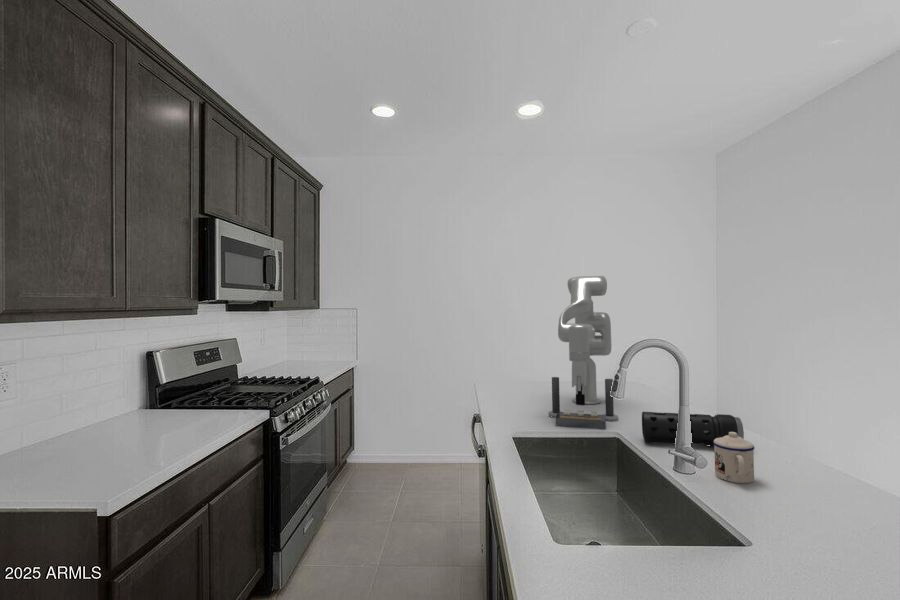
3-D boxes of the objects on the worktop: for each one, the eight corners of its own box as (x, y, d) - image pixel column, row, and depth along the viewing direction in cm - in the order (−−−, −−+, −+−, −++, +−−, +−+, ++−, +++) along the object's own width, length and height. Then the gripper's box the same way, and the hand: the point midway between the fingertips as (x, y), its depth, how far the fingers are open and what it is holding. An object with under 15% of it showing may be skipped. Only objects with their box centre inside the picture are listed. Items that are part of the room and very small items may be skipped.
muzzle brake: (642, 438, 153) (641, 407, 154) (735, 444, 145) (734, 412, 145) (645, 446, 144) (644, 414, 144) (745, 453, 136) (744, 419, 136)
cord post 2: (601, 417, 183) (600, 377, 184) (618, 418, 181) (617, 378, 181) (601, 420, 177) (600, 380, 177) (618, 421, 175) (617, 380, 175)
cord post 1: (549, 413, 190) (548, 376, 191) (564, 414, 188) (564, 376, 188) (547, 417, 184) (546, 378, 185) (563, 418, 182) (562, 378, 182)
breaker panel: (558, 419, 180) (558, 407, 180) (605, 422, 174) (605, 409, 174) (555, 426, 171) (555, 412, 171) (605, 429, 165) (605, 415, 165)
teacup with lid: (710, 469, 122) (709, 427, 123) (749, 473, 119) (747, 429, 120) (721, 486, 111) (720, 439, 111) (764, 490, 108) (763, 442, 108)
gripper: (570, 354, 181) (571, 400, 181) (567, 358, 167) (568, 408, 167) (590, 355, 179) (591, 401, 178) (588, 359, 165) (589, 409, 164)
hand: (580, 404), depth 172 cm, fingers closed
